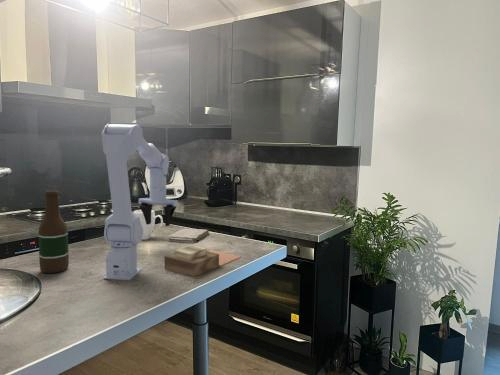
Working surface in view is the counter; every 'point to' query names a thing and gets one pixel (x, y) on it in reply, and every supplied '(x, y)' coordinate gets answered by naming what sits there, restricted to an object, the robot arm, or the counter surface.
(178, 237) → the washcloth
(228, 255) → the mat
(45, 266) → the beer bottle
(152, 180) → the robot arm
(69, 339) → the counter surface
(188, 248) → the tile
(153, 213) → the mug
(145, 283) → the counter surface
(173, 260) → the brown flat block
